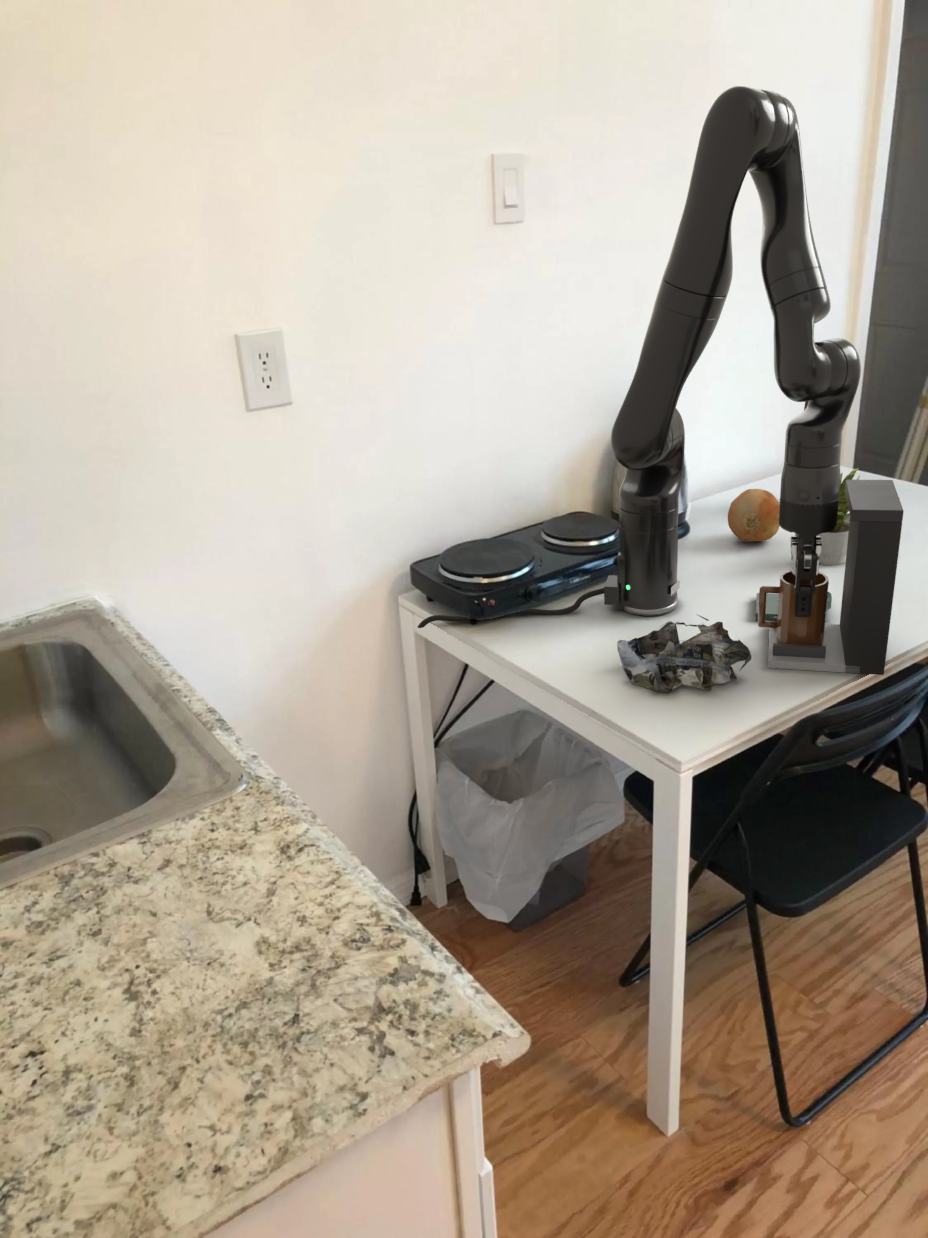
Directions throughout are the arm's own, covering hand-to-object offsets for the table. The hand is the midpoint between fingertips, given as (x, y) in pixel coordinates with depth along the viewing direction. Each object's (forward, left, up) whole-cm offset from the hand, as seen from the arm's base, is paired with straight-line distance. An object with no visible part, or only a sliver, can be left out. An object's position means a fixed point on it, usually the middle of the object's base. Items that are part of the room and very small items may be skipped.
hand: (801, 605), depth 133 cm
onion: (-7, +44, -7) cm, 45 cm away
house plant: (+6, +37, -7) cm, 38 cm away
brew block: (-1, +13, -7) cm, 15 cm away
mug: (-1, 0, -6) cm, 6 cm away
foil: (-16, -11, -7) cm, 21 cm away
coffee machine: (+3, 0, -7) cm, 8 cm away
